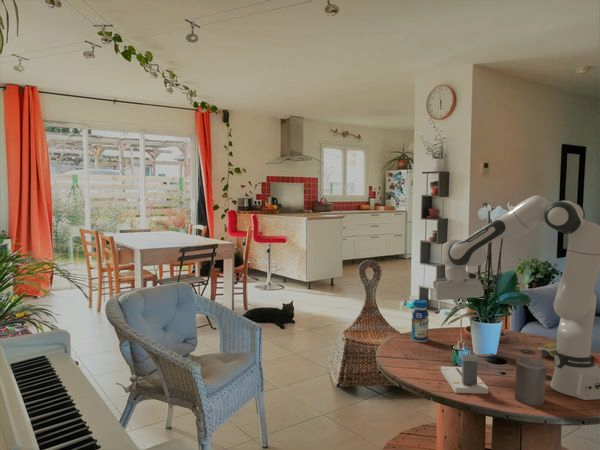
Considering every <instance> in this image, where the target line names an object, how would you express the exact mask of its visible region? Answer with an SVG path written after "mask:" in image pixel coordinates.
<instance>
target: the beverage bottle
mask: <svg viewBox="0 0 600 450" xmlns="http://www.w3.org/2000/svg"><path fill="white" fill-rule="evenodd" d="M427 308H428V301H427V300H425V299H414V300H413V309H412V311H411V315H412V316H411V318H410V319H411V337H410V338H411V340H412V341H414V342H417V343H425V342H428V340H429V320H430V319H429V315H430V313H429V312H428V310H427Z"/></svg>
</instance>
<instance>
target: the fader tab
mask: <svg viewBox="0 0 600 450" xmlns="http://www.w3.org/2000/svg"><path fill="white" fill-rule="evenodd" d="M461 361H462V363H461V367H462V383H463V384H471V385H477V376H478V367H479V366H478V362H479V355H477V354H466V353H464V354H461Z"/></svg>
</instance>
